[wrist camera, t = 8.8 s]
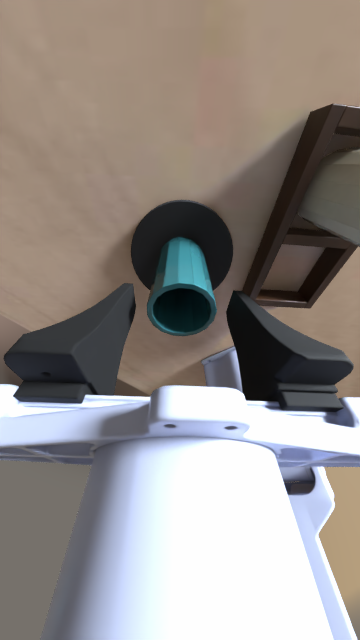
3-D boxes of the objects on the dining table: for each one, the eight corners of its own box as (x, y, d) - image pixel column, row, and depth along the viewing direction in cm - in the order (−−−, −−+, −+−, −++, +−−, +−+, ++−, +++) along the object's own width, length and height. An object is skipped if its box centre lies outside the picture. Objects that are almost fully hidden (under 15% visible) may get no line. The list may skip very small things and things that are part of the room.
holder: (241, 293, 20) (246, 304, 19) (310, 111, 11) (332, 103, 9) (300, 297, 21) (310, 308, 19) (417, 124, 11) (457, 118, 10)
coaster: (175, 311, 22) (175, 314, 22) (110, 251, 17) (109, 253, 16) (248, 266, 18) (250, 268, 17) (192, 166, 13) (193, 166, 12)
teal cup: (178, 288, 19) (177, 344, 13) (149, 257, 17) (132, 309, 11) (212, 264, 17) (229, 317, 11) (185, 225, 15) (188, 267, 9)
